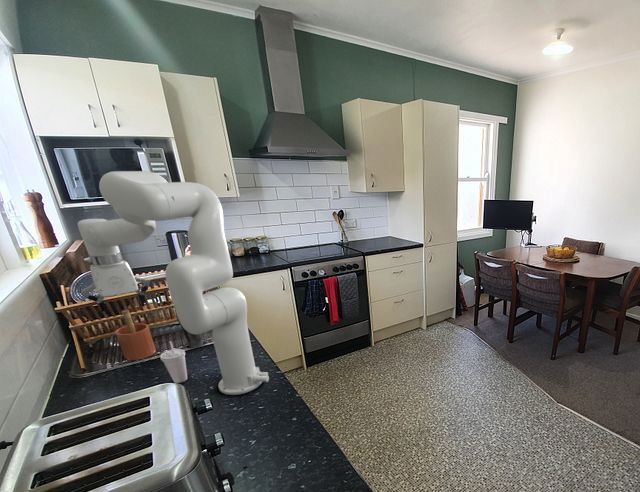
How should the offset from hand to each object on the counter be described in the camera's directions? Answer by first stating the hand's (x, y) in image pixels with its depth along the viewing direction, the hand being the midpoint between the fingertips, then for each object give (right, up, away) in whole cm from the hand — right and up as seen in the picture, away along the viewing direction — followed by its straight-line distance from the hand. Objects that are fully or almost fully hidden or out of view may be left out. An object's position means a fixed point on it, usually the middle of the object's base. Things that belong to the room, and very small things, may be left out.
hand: (125, 309), depth 117 cm
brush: (-1, -15, +7) cm, 17 cm away
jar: (-1, -16, +7) cm, 18 cm away
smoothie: (+23, -23, -6) cm, 33 cm away
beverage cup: (+14, -13, +15) cm, 24 cm away
